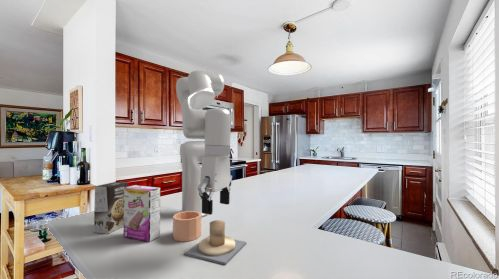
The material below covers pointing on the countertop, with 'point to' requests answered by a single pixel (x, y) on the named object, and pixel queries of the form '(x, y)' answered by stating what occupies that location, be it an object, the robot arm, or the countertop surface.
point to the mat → (218, 259)
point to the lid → (217, 241)
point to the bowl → (187, 226)
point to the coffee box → (109, 207)
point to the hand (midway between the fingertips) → (216, 208)
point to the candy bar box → (142, 213)
